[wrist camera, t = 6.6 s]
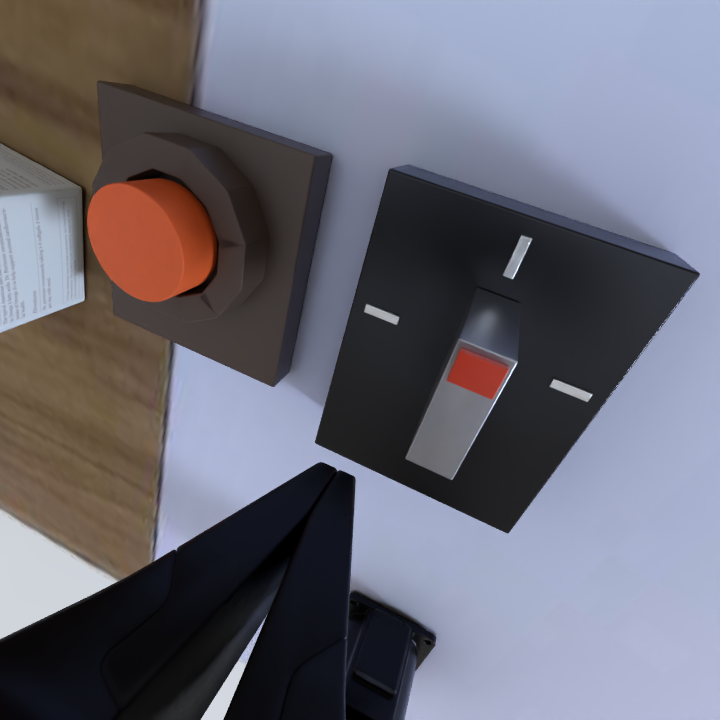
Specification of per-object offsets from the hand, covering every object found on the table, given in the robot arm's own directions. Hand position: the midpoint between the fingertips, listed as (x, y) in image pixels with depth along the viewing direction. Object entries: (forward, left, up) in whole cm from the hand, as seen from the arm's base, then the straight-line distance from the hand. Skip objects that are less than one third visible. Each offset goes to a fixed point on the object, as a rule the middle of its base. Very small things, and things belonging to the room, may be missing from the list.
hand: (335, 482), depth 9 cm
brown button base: (-1, +11, -11) cm, 16 cm away
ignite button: (0, +11, -8) cm, 14 cm away
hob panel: (-1, -2, -11) cm, 11 cm away
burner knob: (0, -2, -9) cm, 9 cm away
